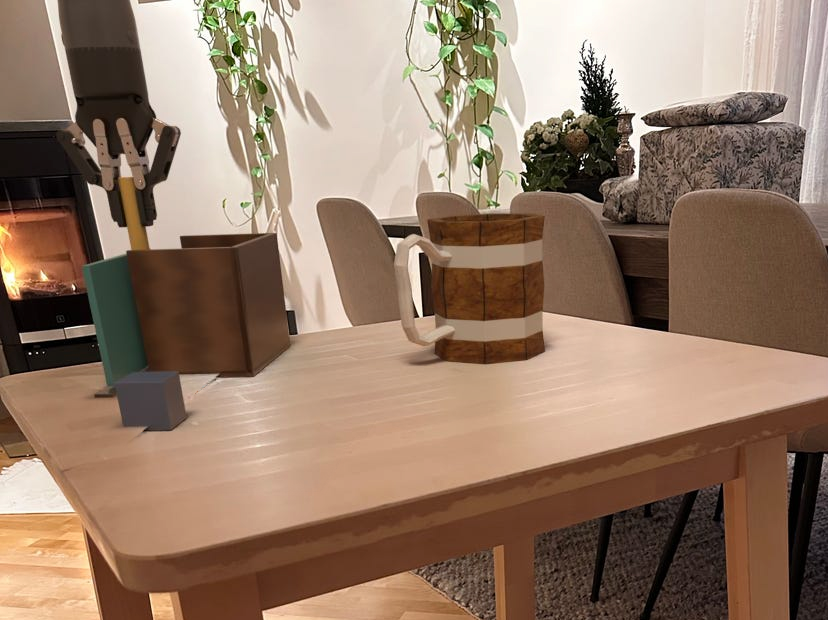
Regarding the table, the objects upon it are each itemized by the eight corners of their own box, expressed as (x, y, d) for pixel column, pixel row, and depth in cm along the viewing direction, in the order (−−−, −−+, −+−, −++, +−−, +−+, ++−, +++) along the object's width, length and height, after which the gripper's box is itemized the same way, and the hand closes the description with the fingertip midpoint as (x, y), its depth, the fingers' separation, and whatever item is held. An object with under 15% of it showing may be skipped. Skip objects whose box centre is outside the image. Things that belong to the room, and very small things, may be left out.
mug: (494, 337, 124) (491, 211, 117) (568, 350, 114) (569, 215, 107) (370, 361, 113) (358, 224, 106) (440, 378, 104) (432, 229, 97)
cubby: (95, 401, 99) (64, 262, 93) (185, 348, 124) (165, 236, 118) (226, 399, 98) (204, 258, 92) (290, 346, 123) (276, 232, 117)
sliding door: (101, 386, 101) (57, 183, 92) (158, 354, 116) (125, 176, 107) (120, 386, 101) (77, 182, 92) (174, 353, 116) (142, 176, 107)
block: (124, 431, 88) (113, 382, 86) (141, 418, 92) (132, 371, 90) (171, 430, 88) (162, 381, 86) (187, 418, 92) (178, 370, 90)
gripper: (179, 46, 102) (206, 222, 110) (54, 52, 103) (90, 225, 111) (154, 40, 95) (185, 227, 103) (21, 46, 96) (62, 231, 104)
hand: (135, 225), depth 107 cm, fingers closed on sliding door, 2 cm apart
